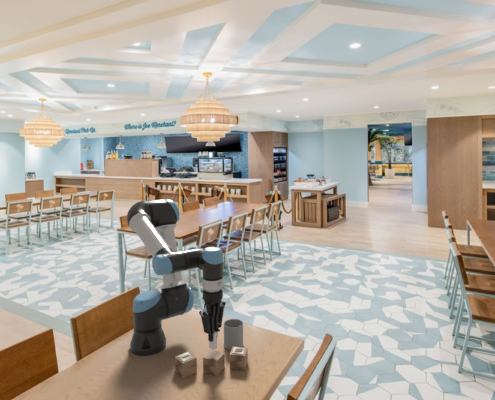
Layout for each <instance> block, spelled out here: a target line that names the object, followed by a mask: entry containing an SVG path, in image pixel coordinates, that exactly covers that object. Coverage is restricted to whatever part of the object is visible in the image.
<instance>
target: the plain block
mask: <svg viewBox="0 0 495 400" xmlns="http://www.w3.org/2000/svg"><path fill="white" fill-rule="evenodd" d="M225 360H226V359H225V353H224V352H221V351H217V350H214V349H211V350H209V351H208V352H207V353H206V354H205V355H204V356H203V357H202V373H205V374H207V375H211V376H214V377H218V376H219V375H220V373H221V372H222V371H223V370H224V369H225V363H226V361H225Z"/></svg>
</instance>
